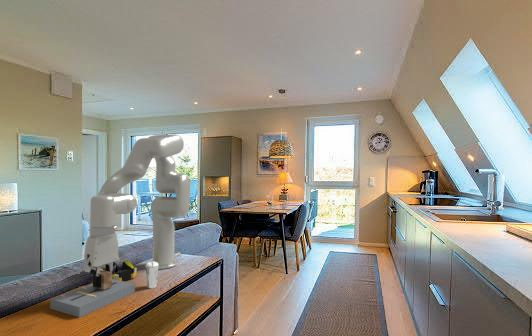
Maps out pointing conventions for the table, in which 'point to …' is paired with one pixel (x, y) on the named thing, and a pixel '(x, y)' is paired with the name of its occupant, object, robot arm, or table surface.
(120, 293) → the slider panel
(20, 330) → the table surface
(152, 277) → the milkshake
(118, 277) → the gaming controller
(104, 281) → the fader
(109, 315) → the table surface
